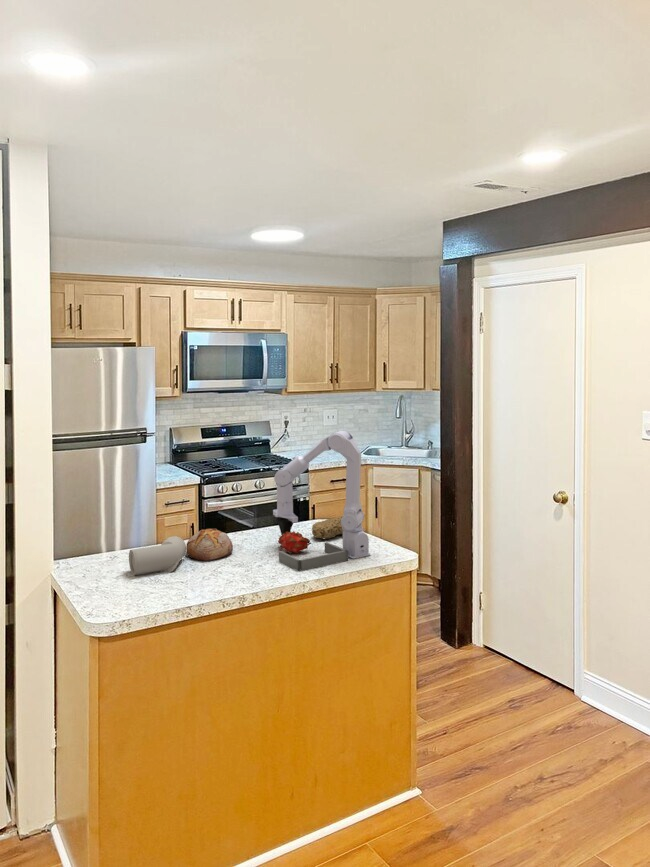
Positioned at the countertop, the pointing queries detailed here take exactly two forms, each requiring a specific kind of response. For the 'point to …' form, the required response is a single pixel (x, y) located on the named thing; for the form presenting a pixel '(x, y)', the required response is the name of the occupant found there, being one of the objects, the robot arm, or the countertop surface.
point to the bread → (209, 545)
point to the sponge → (327, 528)
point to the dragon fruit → (293, 542)
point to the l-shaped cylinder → (157, 557)
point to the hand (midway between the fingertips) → (285, 537)
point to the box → (315, 558)
